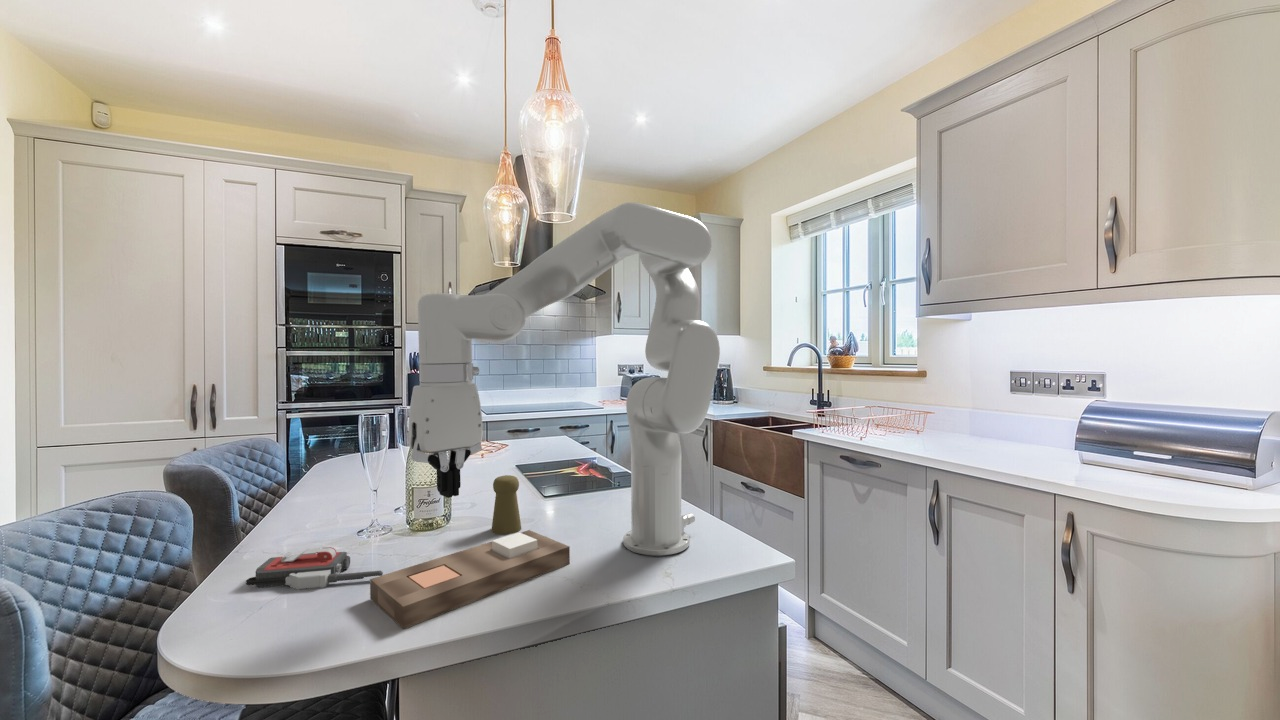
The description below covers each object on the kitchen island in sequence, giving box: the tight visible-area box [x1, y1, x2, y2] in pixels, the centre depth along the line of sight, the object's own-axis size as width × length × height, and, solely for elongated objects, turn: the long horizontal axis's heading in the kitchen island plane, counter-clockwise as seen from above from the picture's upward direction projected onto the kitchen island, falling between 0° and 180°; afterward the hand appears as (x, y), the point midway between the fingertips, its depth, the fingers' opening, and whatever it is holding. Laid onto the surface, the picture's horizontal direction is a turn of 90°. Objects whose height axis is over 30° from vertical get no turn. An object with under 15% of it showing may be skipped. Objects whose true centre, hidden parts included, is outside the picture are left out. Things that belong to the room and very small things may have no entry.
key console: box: [369, 529, 571, 630], centre depth 81 cm, size 28×12×3 cm, turn 137°
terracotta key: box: [409, 565, 460, 589], centre depth 76 cm, size 5×5×2 cm
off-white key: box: [491, 531, 537, 559], centre depth 86 cm, size 5×5×2 cm
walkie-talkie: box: [245, 546, 384, 590], centre depth 83 cm, size 9×4×20 cm
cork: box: [491, 474, 522, 536], centre depth 105 cm, size 6×6×11 cm
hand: (449, 494), depth 78 cm, fingers closed
